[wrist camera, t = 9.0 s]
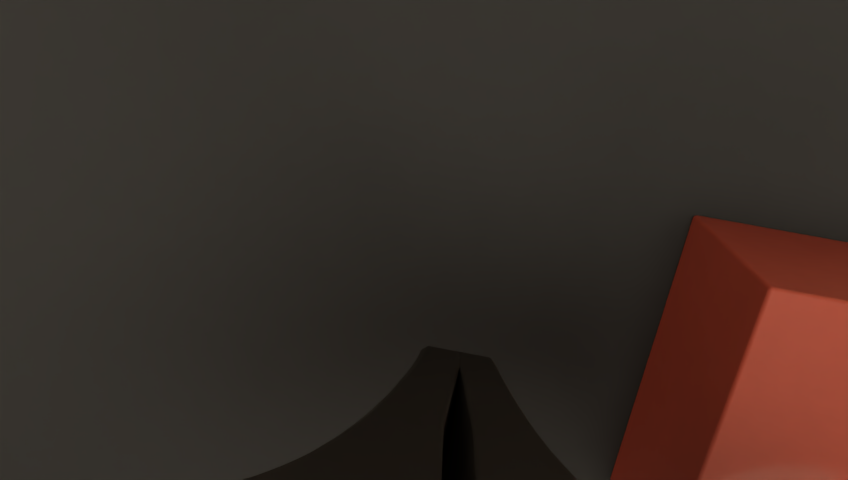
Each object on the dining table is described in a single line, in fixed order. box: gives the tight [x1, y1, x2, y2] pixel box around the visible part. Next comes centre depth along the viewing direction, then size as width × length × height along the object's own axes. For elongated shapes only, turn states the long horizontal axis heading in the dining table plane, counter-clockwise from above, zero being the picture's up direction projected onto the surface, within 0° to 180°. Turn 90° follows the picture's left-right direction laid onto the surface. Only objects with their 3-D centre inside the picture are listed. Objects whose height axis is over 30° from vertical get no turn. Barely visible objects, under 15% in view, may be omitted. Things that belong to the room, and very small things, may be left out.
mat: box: [0, 0, 848, 480], centre depth 16 cm, size 18×26×1 cm
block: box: [610, 215, 848, 480], centre depth 13 cm, size 7×5×4 cm
